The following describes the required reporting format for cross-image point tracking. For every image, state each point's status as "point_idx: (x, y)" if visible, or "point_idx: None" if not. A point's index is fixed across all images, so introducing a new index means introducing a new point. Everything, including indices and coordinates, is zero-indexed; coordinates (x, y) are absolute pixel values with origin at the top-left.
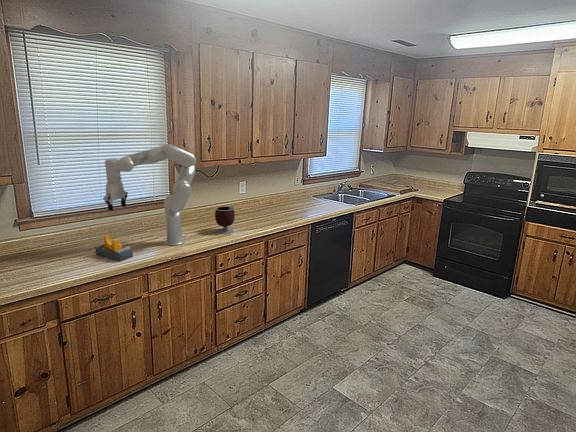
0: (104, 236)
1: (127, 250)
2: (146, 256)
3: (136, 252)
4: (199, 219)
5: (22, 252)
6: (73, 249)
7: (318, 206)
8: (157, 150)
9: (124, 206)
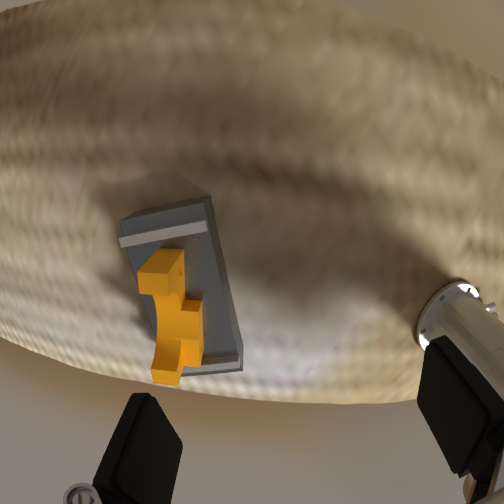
0: (138, 281)
1: (214, 373)
2: (281, 375)
3: (286, 315)
4: None
5: (13, 10)
6: (109, 58)
7: None
8: None
9: (421, 399)
